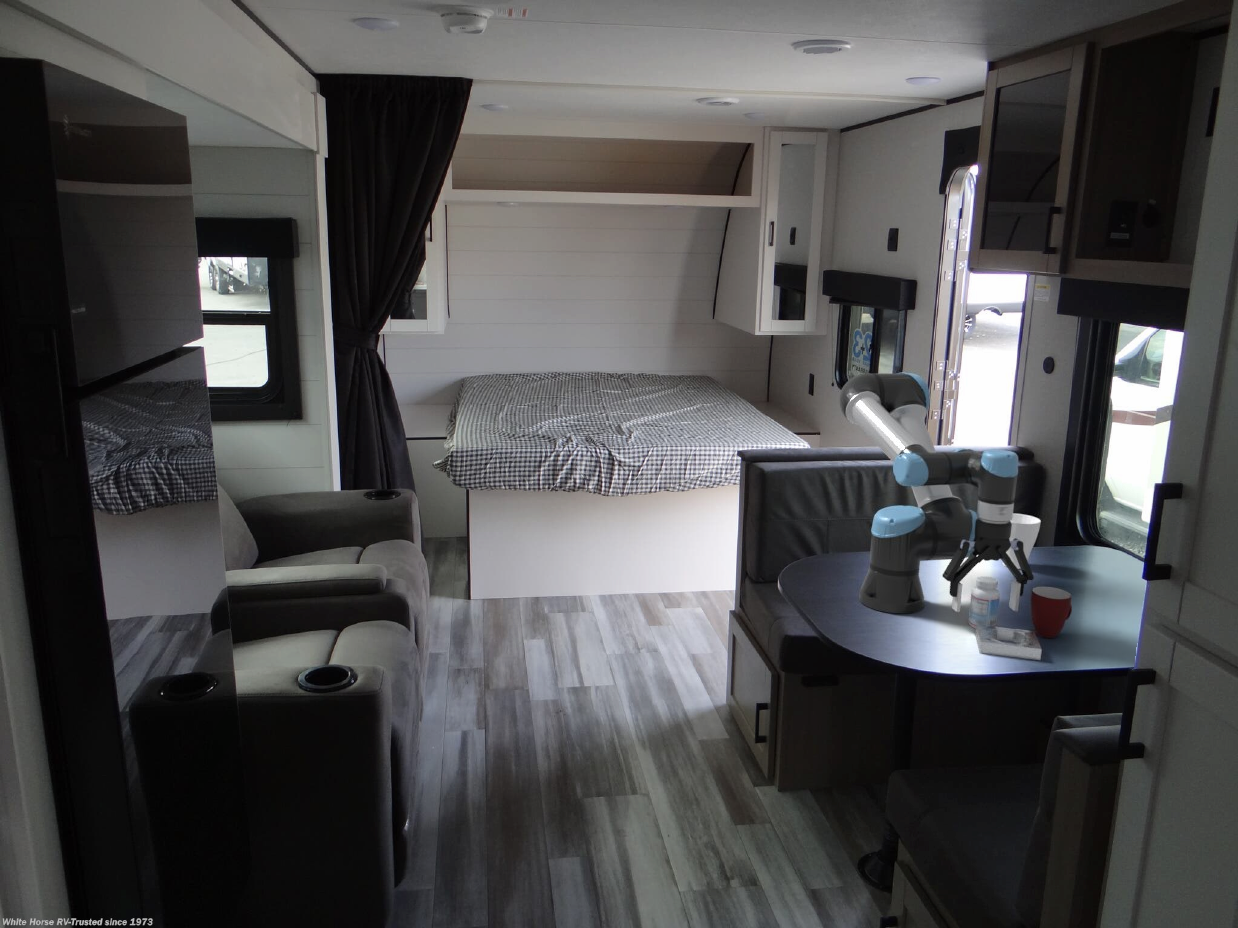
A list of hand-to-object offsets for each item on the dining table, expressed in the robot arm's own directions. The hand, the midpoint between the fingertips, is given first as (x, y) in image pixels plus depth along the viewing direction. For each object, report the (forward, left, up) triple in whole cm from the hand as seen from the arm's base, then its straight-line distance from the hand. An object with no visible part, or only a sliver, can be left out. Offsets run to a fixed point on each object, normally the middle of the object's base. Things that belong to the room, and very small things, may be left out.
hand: (984, 609), depth 210 cm
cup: (+13, +49, -4) cm, 51 cm away
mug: (+14, 0, -4) cm, 15 cm away
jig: (+4, -11, -4) cm, 12 cm away
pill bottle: (0, 0, -4) cm, 4 cm away
